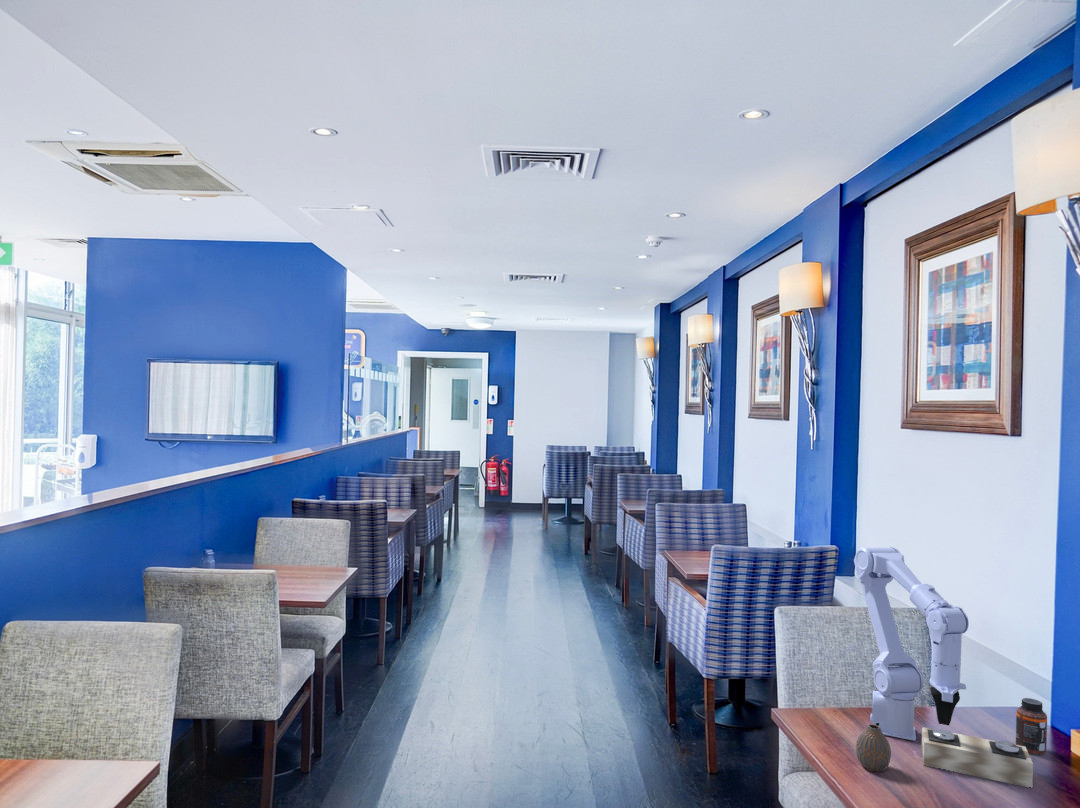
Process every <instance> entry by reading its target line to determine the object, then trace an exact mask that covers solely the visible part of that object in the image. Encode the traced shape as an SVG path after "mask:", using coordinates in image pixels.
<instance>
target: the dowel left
mask: <svg viewBox="0 0 1080 808" xmlns="http://www.w3.org/2000/svg"><path fill="white" fill-rule="evenodd" d="M953 733H954V732H951V731H948V730H945V729H935V730H933V736H934V737H935V738H936V739H940V740H943V741H954V737H955V736H954V734H953Z"/></svg>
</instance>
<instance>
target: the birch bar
mask: <svg viewBox="0 0 1080 808" xmlns="http://www.w3.org/2000/svg"><path fill="white" fill-rule="evenodd" d="M933 730H936V729H934V728H929V727H924V726H922V727H921V754H922V755H921V756H923V757H922V765H923V766H924V765H926V766H925V767H929V766H931V767H930V768H934V767H935V769H938V768H941V769H940V770H943V769H946V770H945V771H948V770H950V771H949V772H953V771H954V773H958V774H963V775H967V776H973V777H976V778H977V777H978V778H982V779H986V780H987V779H988V780H992V781H997V782H1001V783H1005V784H1006V783H1007V784H1011V785H1016V786H1021V787H1025V788H1029V787H1031V788H1030V789H1033V787H1034V786H1033V782H1034V781H1033V780H1034V772H1033V771H1034V763H1033V760H1032V758H1031V756H1030V753H1028V751H1027V749H1026V747H1025V746H1019V745H1016V744H1015V745H1016V746H1018V747H1019V753H1017V754H1010V753H1005V752H1002V751H999V750H998V749H997V748H996V742H998V741H999V740H998V741H997V740H993V739H988V738H987V739H986V738H983V737H982V738H981V737H976V736H972V735H966V734H961V733H955V732H952V733H953V734H954V736H955V737H954V741H943V740H940V739H936V738H935V737H934V736H933Z"/></svg>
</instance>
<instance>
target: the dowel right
mask: <svg viewBox="0 0 1080 808" xmlns="http://www.w3.org/2000/svg"><path fill="white" fill-rule="evenodd" d="M996 748H997V749H998V750H999V751H1002V752H1005V753H1010V754H1017V753H1019V747H1018V746H1016V744H1014V743H1012V742H1009V741H1003V740H1000V741H999V740H998V742H996Z"/></svg>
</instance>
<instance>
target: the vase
mask: <svg viewBox="0 0 1080 808" xmlns="http://www.w3.org/2000/svg"><path fill="white" fill-rule="evenodd" d="M855 744H856V745H855V753H856V757H857V760H858V761H859V763H860V765H861V766H862V767H863V766H864V767H863V768H865V769H866V768H867V770H868V769H869V770H868V771H871V770H872V772H877V771H878V772H883V771H884V770H886V769H887V768H888V767H889V765H890V763H891V759H892V750H891V745H890V743H889V740H888V738H887V737H886V735H884V734H883V733H882V731H881V728H880V727H879V726H877V725H874V724H872V723H871V724H868V725H867V726H866V728H865V730H863V731H862V732H861V733H860V734H859V735H858V737H857V740H856V743H855Z"/></svg>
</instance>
